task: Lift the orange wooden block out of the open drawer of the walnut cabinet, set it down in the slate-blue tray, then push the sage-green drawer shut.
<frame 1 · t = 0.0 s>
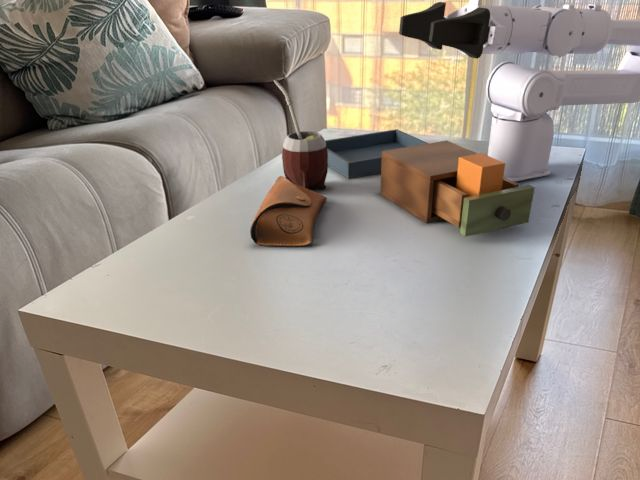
hand: (415, 28, 84), 22 cm above the table, tool horizontal, fingers open, 7 cm apart
mate gourd: (303, 190, 101), on the table
cabinet: (435, 201, 95), on the table
drawer: (474, 198, 86), point 3 cm above the table, slide at 7.0 cm, touching orange wooden block
sunglasses case: (291, 222, 90), on the table
orange wooden block: (475, 209, 86), point 2 cm above the table, touching drawer
tray: (374, 159, 112), on the table
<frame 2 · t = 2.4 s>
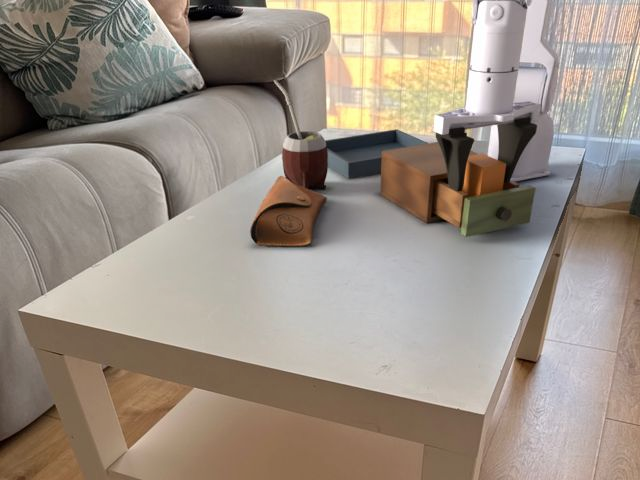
hand: (479, 185, 84), 5 cm above the table, tool pointing down
drawer: (475, 199, 86), point 3 cm above the table, slide at 7.2 cm, touching orange wooden block, gripper
everything else where it was.
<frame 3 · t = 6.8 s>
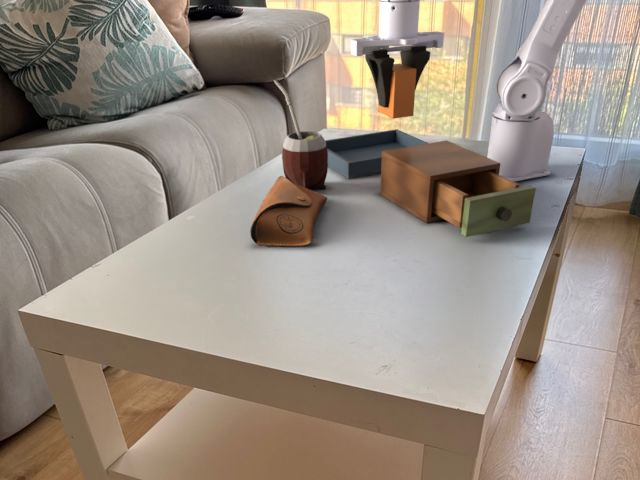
hand: (395, 104, 99), 10 cm above the table, tool pointing down, fingers closed on orange wooden block, 3 cm apart
drawer: (475, 199, 86), point 3 cm above the table, slide at 7.2 cm
orange wooden block: (395, 113, 100), point 9 cm above the table, touching gripper
everything else where it was.
when the fingers open (2 cm above the table, at t = 10.1 s): orange wooden block stays where it is, resting on tray.
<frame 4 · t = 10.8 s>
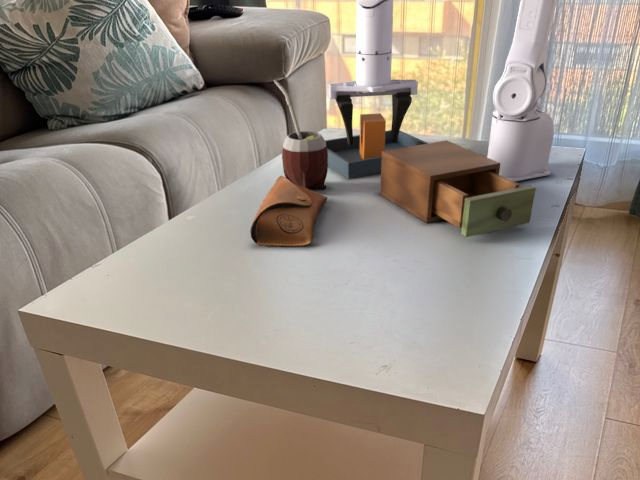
hand: (372, 142, 110), 3 cm above the table, tool pointing down, fingers open, 7 cm apart
orange wooden block: (371, 157, 111), resting on tray
everything else where it was.
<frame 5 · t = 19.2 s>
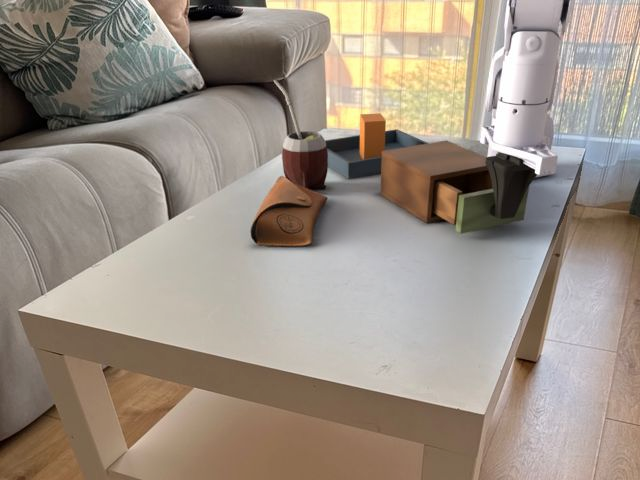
hand: (505, 216, 81), 3 cm above the table, tool pointing down, fingers closed
drawer: (470, 196, 87), point 3 cm above the table, slide at 5.9 cm, touching gripper
everything else where it was.
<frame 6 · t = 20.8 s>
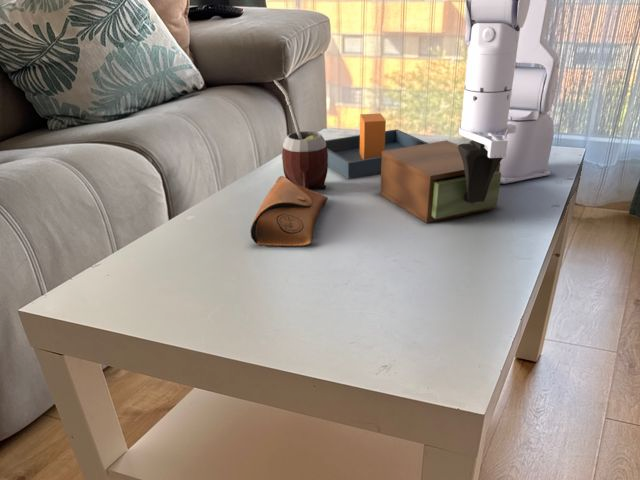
hand: (475, 200, 86), 3 cm above the table, tool pointing down, fingers closed, pressing on drawer
drawer: (445, 184, 91), point 3 cm above the table, slide at 0.0 cm, touching cabinet, gripper
everything else where it was.
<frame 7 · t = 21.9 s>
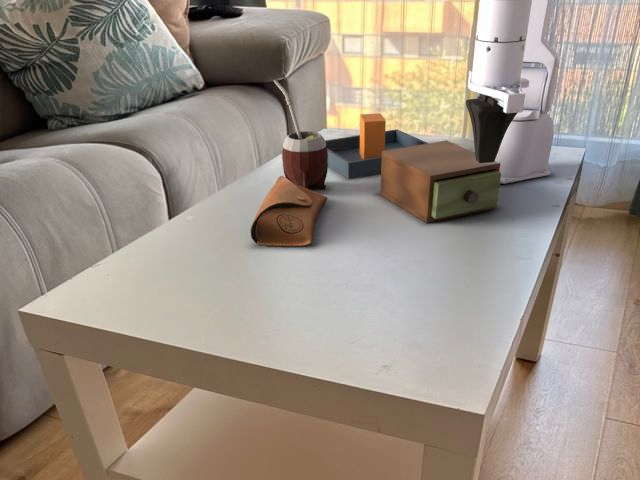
hand: (485, 161, 82), 8 cm above the table, tool pointing down, fingers closed
drawer: (445, 184, 91), point 3 cm above the table, slide at 0.0 cm, touching cabinet
everything else where it was.
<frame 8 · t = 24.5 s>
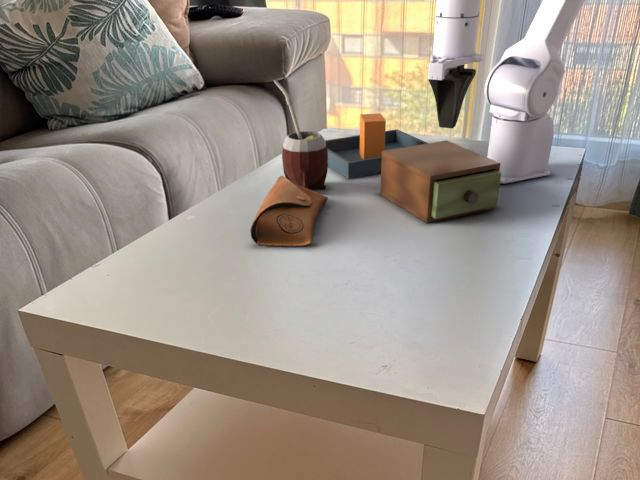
hand: (447, 126, 92), 9 cm above the table, tool pointing down, fingers closed
nothing on the table moved.
at the end: orange wooden block inside the target area in the tray (0.5 cm from its centre), point 0.5 cm above the tray's base; the gripper is holding nothing; drawer slide at 0.0 cm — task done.
